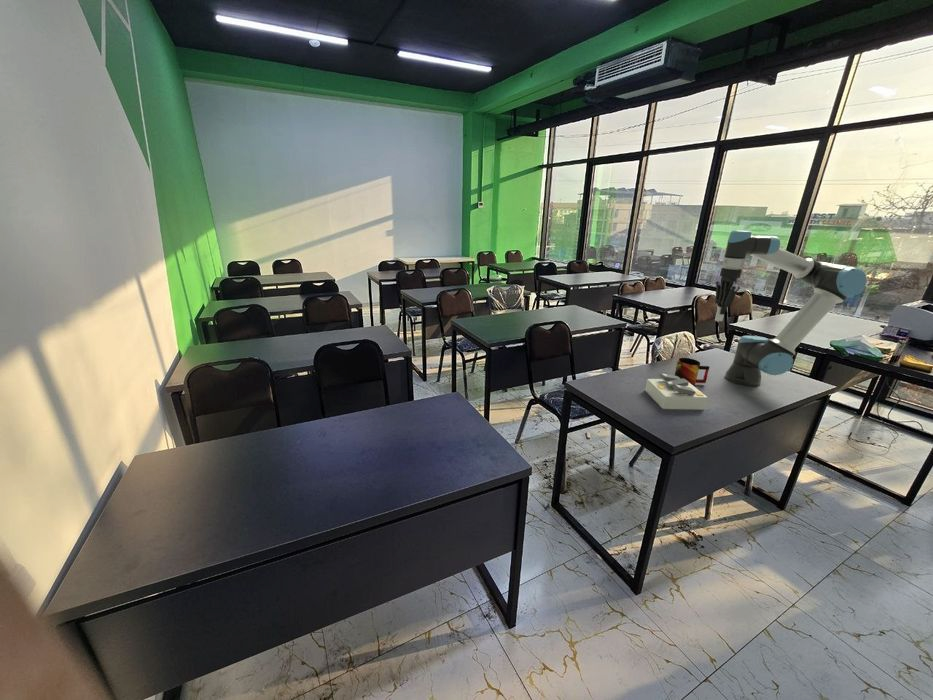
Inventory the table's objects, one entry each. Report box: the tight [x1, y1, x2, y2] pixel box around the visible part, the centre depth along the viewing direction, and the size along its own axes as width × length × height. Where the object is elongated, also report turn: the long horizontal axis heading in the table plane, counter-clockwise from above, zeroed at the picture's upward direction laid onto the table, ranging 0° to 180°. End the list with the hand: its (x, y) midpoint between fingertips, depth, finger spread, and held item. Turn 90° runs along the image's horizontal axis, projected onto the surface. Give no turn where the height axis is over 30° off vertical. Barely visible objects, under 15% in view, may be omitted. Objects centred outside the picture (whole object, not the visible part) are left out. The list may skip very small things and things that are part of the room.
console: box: [645, 378, 708, 411], centre depth 178 cm, size 18×18×7 cm
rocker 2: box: [666, 378, 688, 389], centre depth 176 cm, size 8×4×2 cm, turn 90°
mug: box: [674, 357, 710, 388], centre depth 194 cm, size 10×14×12 cm
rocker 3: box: [672, 384, 696, 395], centre depth 171 cm, size 8×4×2 cm, turn 91°
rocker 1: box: [659, 372, 680, 381], centre depth 182 cm, size 8×4×2 cm, turn 91°
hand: (718, 320), depth 178 cm, fingers closed
